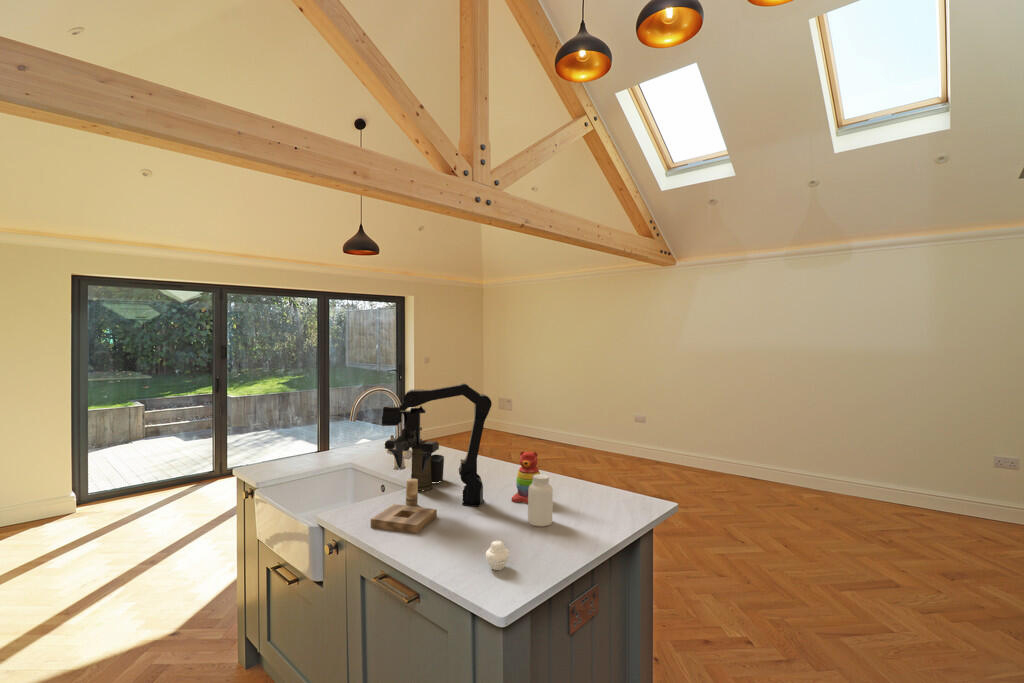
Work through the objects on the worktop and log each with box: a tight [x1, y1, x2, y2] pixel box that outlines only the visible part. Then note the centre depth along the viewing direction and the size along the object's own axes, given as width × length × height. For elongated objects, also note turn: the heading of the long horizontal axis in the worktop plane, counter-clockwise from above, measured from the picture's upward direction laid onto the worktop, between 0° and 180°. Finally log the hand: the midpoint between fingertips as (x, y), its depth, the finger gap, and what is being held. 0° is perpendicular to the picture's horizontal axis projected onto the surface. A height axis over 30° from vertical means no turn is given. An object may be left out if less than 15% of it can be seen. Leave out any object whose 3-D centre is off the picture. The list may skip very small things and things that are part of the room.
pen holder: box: [431, 454, 445, 482], centre depth 193 cm, size 9×9×10 cm
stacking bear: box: [510, 451, 541, 504], centre depth 172 cm, size 11×10×18 cm
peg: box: [405, 478, 419, 507], centre depth 164 cm, size 4×4×9 cm
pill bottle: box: [527, 473, 554, 527], centre depth 150 cm, size 8×8×15 cm
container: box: [410, 440, 434, 491], centre depth 184 cm, size 9×9×18 cm
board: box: [370, 503, 438, 534], centre depth 149 cm, size 16×14×2 cm
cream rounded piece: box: [485, 540, 510, 571], centre depth 119 cm, size 6×6×7 cm
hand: (411, 469), depth 164 cm, fingers open, 9 cm apart
